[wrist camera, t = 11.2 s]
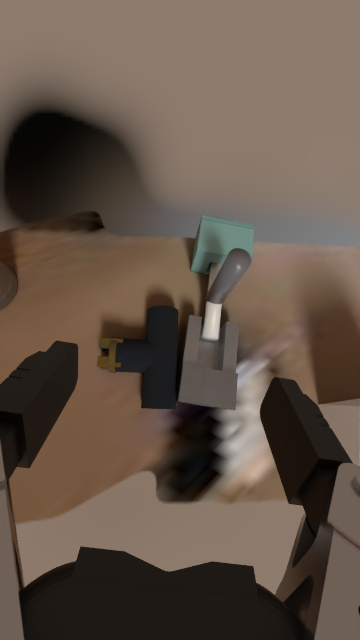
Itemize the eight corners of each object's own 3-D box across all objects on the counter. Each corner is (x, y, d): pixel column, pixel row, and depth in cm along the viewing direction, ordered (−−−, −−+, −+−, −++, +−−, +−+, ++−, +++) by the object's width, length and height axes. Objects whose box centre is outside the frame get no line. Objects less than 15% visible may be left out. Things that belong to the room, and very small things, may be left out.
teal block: (190, 271, 47) (197, 249, 40) (195, 240, 49) (202, 214, 42) (237, 280, 47) (252, 260, 41) (240, 248, 50) (254, 225, 43)
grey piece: (199, 338, 42) (222, 309, 29) (210, 247, 48) (234, 187, 34) (217, 341, 42) (248, 314, 29) (226, 250, 48) (255, 191, 35)
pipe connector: (90, 407, 33) (104, 301, 38) (98, 406, 38) (108, 312, 43) (178, 409, 35) (180, 306, 39) (173, 408, 40) (176, 317, 44)
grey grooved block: (174, 401, 39) (178, 401, 35) (185, 322, 44) (190, 312, 39) (224, 409, 40) (235, 409, 35) (231, 330, 44) (241, 321, 39)
